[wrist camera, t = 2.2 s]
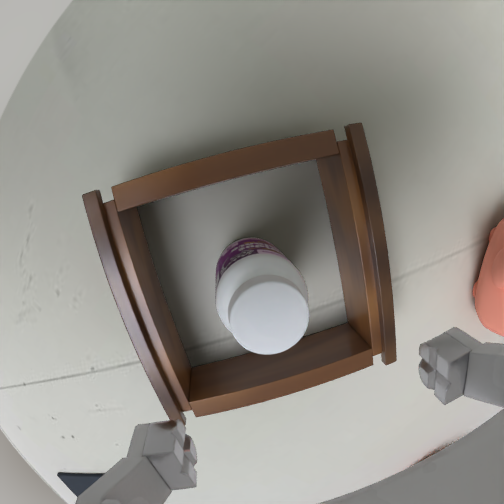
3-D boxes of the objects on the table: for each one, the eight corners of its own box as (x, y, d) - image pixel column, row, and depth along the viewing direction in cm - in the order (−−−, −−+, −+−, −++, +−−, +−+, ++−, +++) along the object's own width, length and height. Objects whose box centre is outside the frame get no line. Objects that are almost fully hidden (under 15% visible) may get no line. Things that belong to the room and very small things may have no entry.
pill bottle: (278, 229, 24) (318, 256, 15) (289, 294, 25) (329, 352, 16) (208, 243, 24) (204, 280, 14) (222, 308, 25) (228, 376, 16)
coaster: (58, 472, 27) (56, 475, 27) (134, 472, 28) (133, 475, 27) (103, 519, 30) (103, 521, 29) (175, 519, 31) (174, 522, 30)
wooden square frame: (109, 192, 22) (81, 195, 17) (331, 134, 23) (362, 122, 18) (179, 386, 26) (173, 427, 21) (367, 332, 27) (396, 361, 22)
